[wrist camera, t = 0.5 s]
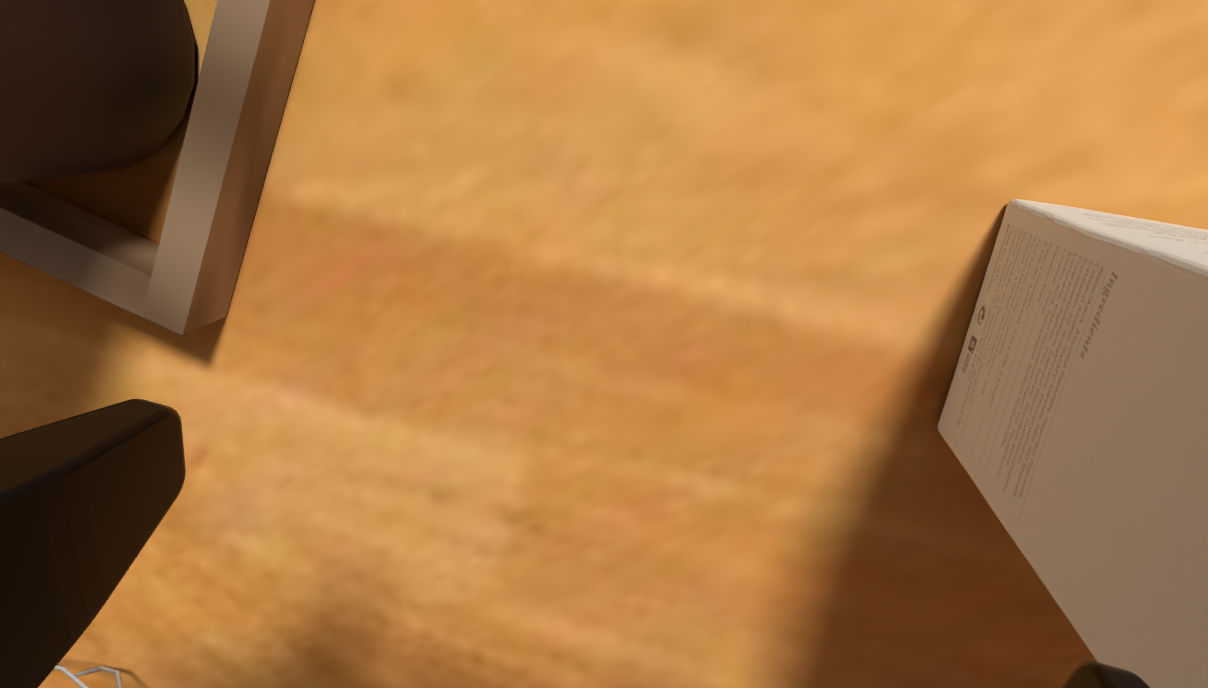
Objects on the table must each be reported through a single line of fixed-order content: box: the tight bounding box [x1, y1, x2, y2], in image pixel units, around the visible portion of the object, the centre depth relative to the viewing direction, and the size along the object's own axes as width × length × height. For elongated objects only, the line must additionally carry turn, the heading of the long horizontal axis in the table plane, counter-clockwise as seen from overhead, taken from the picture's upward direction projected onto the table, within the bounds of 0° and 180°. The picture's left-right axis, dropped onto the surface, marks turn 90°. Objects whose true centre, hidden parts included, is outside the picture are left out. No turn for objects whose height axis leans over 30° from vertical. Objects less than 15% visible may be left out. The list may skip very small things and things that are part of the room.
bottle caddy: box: [0, 0, 314, 336], centre depth 20 cm, size 11×11×2 cm
